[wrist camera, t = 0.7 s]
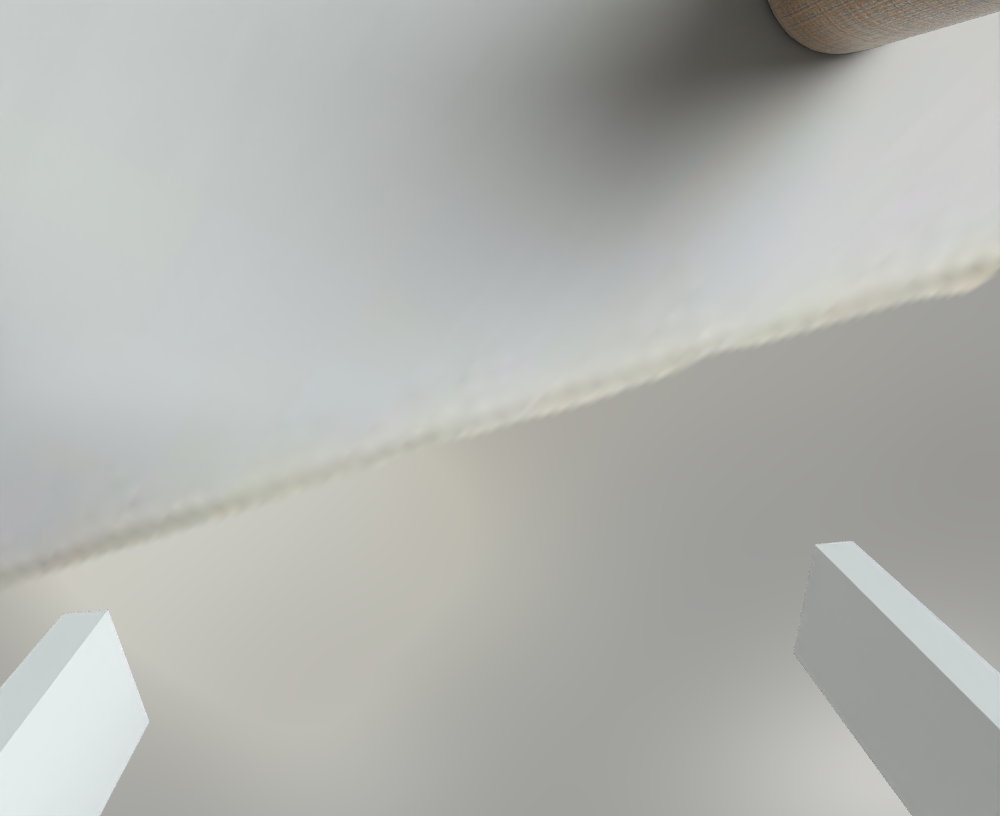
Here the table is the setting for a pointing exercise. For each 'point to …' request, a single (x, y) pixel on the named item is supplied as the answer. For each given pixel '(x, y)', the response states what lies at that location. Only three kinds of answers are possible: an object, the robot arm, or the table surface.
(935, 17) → the vase
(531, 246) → the table surface
